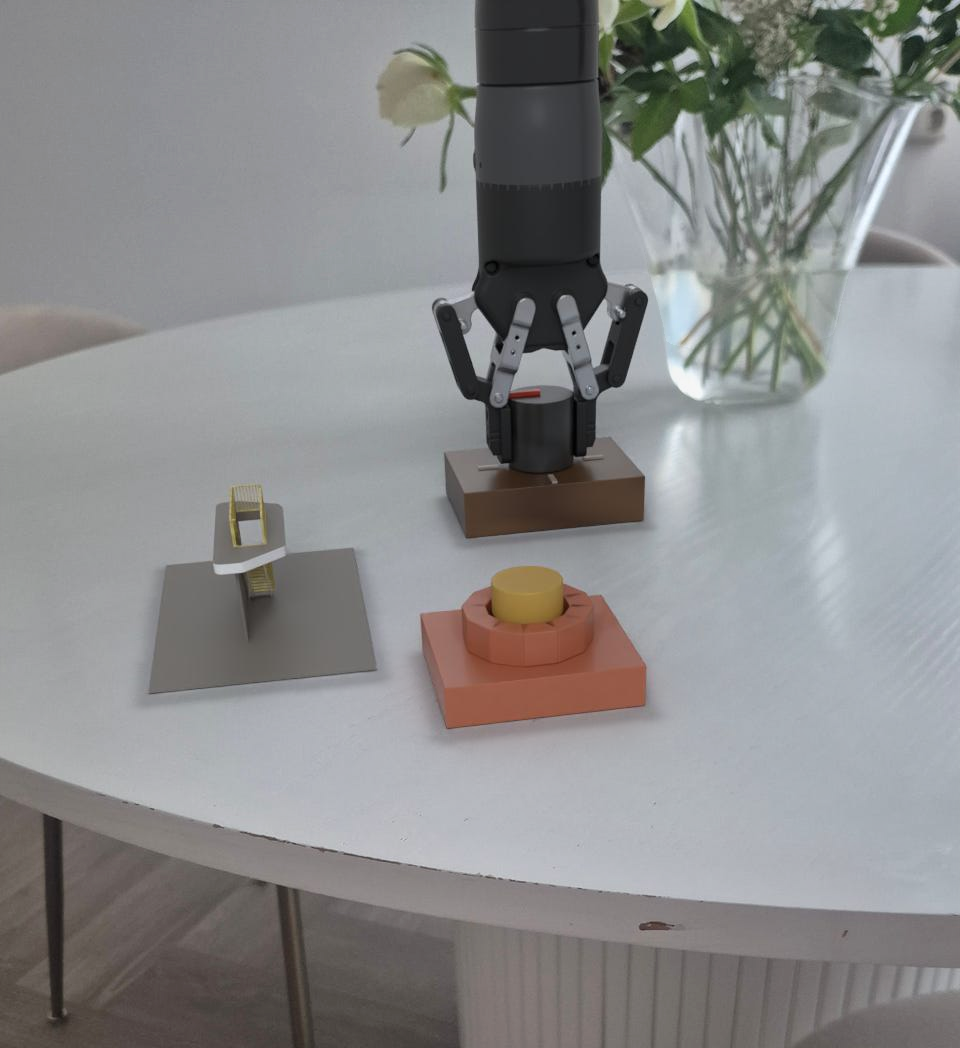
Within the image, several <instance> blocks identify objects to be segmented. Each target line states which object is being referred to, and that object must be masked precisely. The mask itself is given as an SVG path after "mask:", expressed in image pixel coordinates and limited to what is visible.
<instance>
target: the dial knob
mask: <svg viewBox="0 0 960 1048" xmlns="http://www.w3.org/2000/svg"><path fill="white" fill-rule="evenodd" d="M507 403H508V405H509V406H510V408H511V438H512V463H509V465H510V467H512V468H513V469H516V470H519V471H523V472H531V473H547V472H555V471H559V470H563V469H566V468H568V467H570V466H571V465H572V464H573V462H574V393H573V389H569V388H567V387H564V386H559V385H558V386H557V385H549V384H547V385H544V384H543V385H542V384H540V385H528V386H523V387H519V388H515V389H513V390H512V389H511V390H510V394H509V398H508V401H507Z"/></svg>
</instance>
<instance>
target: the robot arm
mask: <svg viewBox="0 0 960 1048" xmlns="http://www.w3.org/2000/svg"><path fill="white" fill-rule="evenodd" d="M599 1H600V0H474V29H475V30H474V39H475V40H474V41H475V69H476V71H475V72H476V83H477V85H476V99H475V112H474V123H473V125H474V127H473V140H474V142H473V143H474V145H473V147H474V150H473V154H472V164H473V169H474V173H475V196H476V220H477V221H476V223H477V224H476V225H477V226H476V227H477V252H478V254H477V255H478V268H477V274H476V276H475V279H474V281H473V283H472V286H471V290H470V291H467V292H465V293H462V294H460V295H457V296H455V297H451V298H450V299H447V298H444V297H438V298H436V299H435V300H434V301H433V302H432V305H431V311H432V314H433V318H434V321H435V325H436V327H437V330H438V333H439V336H440V338H441V342H442V344H443V348H444V351H445V353H446V357H447V360H448V363H449V366H450V369H451V372H452V374H453V378H454V380H455V384H456V386H457V388H458V390H459V391H460V393H461V394H462V396H463V397H464V398H465V399H466V400H468V401H477V402H480V403H483V405H484V411H485V412H484V413H485V414H484V415H485V440H486V445H487V448H489V449H490V451H491V453H492V454H493V456H496V455H497V458H498V460H499V462H500V463H501V464H506V463H512V438H511V408H510V406H509V405H508V403H507V401H508V398H509V394H510V391H512V386H513V383H514V379H515V375H516V374H517V373H518V371H519V369H520V365H521V362H522V357H523V355H524V354H531V353H532V354H533V353H535V352H538V351H540V350H543V349H545V350H551V351H554V352H557V351H561V354H562V357H563V358H564V360H565V363H566V367H567V370H568V374H569V377H570V380H571V383H572V386H573V387H572V388H573V389H572V391H573V393H574V456H575V457H584V456H586V454H587V447H593V445H594V442H595V439H596V438H597V437H596V435H597V431H596V430H597V400H598V398H599V396H600V395H601V394H602V393H603V392H605V391H607V390H609V389H611V388H614V389H618V388H621V387H622V386H623V385H624V384H625V383H626V380H627V376H628V372H629V370H630V367H631V363H632V359H633V356H634V352H635V349H636V345H637V342H638V339H639V334H640V331H641V328H642V325H643V321H644V317H645V314H646V311H647V307H648V304H649V296H648V295H647V293H646V292H644V290H642V289H641V288H640V287H638V286H637V285H634V284H633V283H626V284H619V283H615V282H611V281H608V279H607V275H605V273H604V270H603V268H602V264H601V236H602V235H601V230H602V229H601V228H602V224H601V223H602V158H603V157H602V155H603V153H602V152H603V121H602V112H601V111H602V110H601V101H600V91H599V80H598V78H599V65H600V64H599V59H600V57H599V53H600V24H599V23H600V4H599V3H600V2H599ZM604 300H605V302H606V314H607V316H608V318H610V319H611V323H610V327H609V330H608V334H607V336H606V337H607V338H606V341H605V344H604V348H603V353H602V355H601V359H600V363H599V365H597V366H594V365H593V362H592V355H591V351H590V348H589V345H588V341H587V339H586V335H585V332H584V331H585V329H586V328H587V326H588V325H589V323H590V321H592V318H593V317H594V315H595V314H596V313H597V311H598V309H599V307H600V306H601V304H602V303H603V301H604ZM476 310H479V312H480V314H481V315H482V316H483V317H484V318H485V320H486V321H487V323H488V324H489V325H490V326H491V329H493V331H494V332H495V334H494V335H495V336H494V337H493V338H494V339H493V341H492V346H491V351H490V357H489V365H488V368H487V372H486V377H482V376H479V375H477V373H476V371H475V367H474V364H473V361H472V358H471V354H470V352H469V348H468V346H467V342H466V339H465V336H464V335H467V334H468V333H469V332H470V331H471V329H472V325H473V323H472V315H473V313H474V312H475V311H476ZM593 366H594V367H593Z"/></svg>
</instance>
